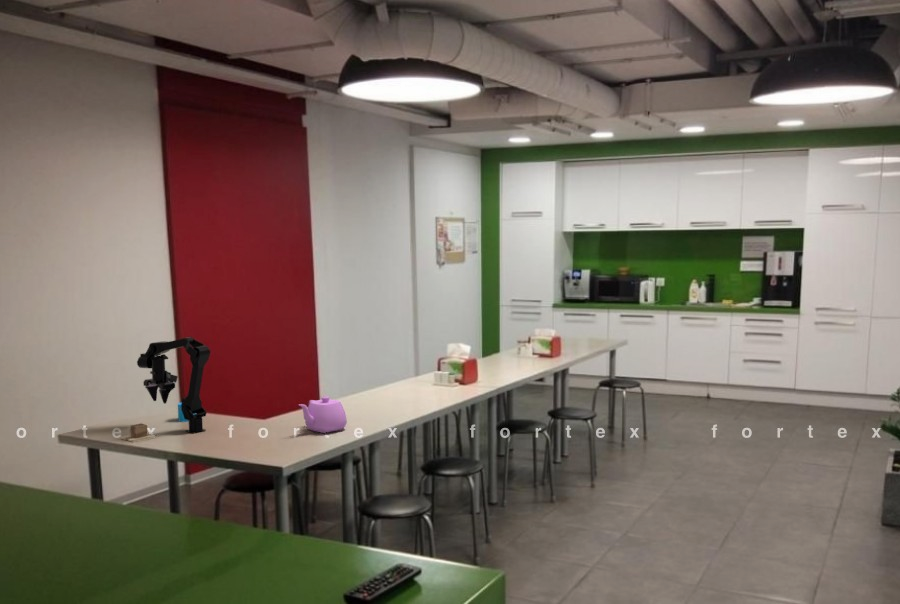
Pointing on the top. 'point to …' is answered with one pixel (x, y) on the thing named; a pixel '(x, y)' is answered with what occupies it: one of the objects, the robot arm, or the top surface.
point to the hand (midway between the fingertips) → (159, 402)
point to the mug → (181, 414)
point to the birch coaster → (138, 438)
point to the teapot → (324, 415)
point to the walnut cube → (138, 430)
